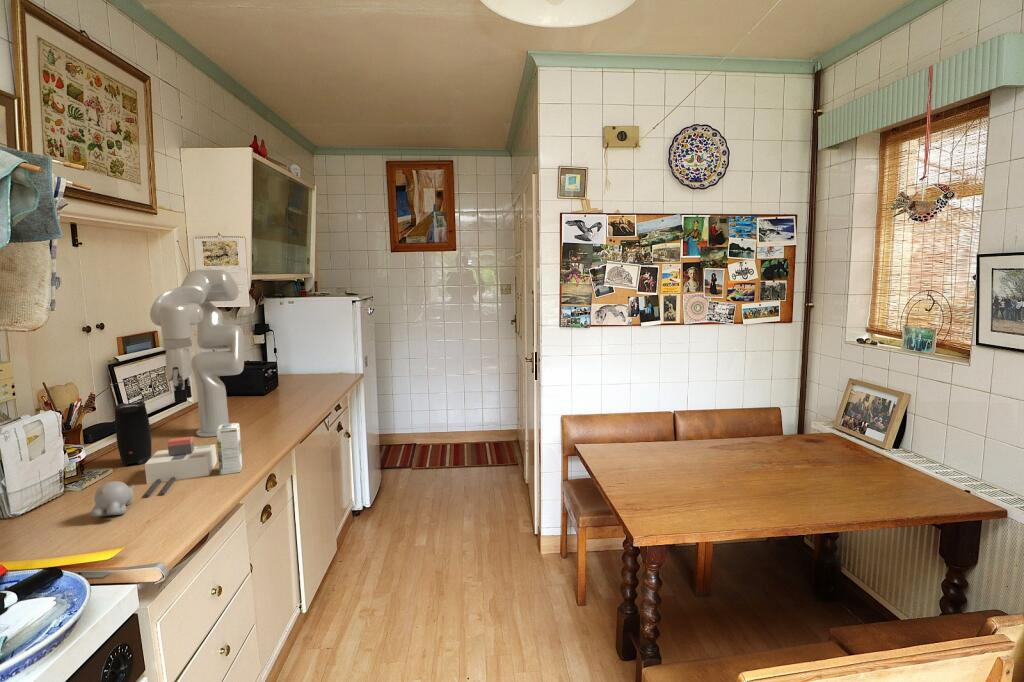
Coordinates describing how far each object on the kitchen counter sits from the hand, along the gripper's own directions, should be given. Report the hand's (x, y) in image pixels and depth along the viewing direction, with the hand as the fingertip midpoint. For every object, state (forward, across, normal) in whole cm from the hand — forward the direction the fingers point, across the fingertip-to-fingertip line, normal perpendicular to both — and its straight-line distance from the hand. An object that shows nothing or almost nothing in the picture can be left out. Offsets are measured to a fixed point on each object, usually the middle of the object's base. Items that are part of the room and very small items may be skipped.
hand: (183, 399), depth 160 cm
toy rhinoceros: (+22, +32, -9) cm, 40 cm away
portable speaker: (+22, -8, -17) cm, 29 cm away
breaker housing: (+21, +8, 0) cm, 23 cm away
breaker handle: (+15, +8, 0) cm, 17 cm away
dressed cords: (+21, +20, -3) cm, 29 cm away
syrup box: (+22, +12, +14) cm, 28 cm away
